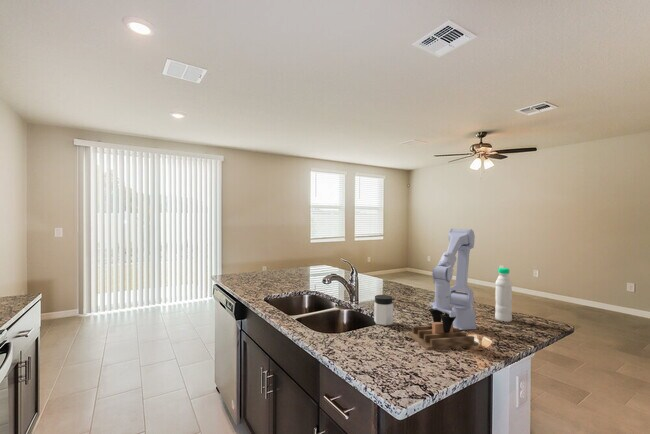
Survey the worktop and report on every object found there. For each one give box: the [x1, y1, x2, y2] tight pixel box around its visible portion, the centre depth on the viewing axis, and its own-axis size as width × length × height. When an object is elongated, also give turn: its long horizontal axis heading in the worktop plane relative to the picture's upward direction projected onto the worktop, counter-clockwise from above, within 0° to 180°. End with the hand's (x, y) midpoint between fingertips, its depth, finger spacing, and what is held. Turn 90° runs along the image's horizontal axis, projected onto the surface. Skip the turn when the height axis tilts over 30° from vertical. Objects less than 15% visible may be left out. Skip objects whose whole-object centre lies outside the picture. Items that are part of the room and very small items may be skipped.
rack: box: [407, 324, 480, 350], centre depth 126 cm, size 22×15×3 cm
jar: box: [373, 294, 394, 326], centre depth 146 cm, size 9×8×12 cm
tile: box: [431, 321, 453, 334], centre depth 126 cm, size 8×2×6 cm, turn 102°
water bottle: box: [494, 267, 513, 323], centre depth 152 cm, size 7×7×25 cm
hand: (441, 329), depth 126 cm, fingers open, 6 cm apart
